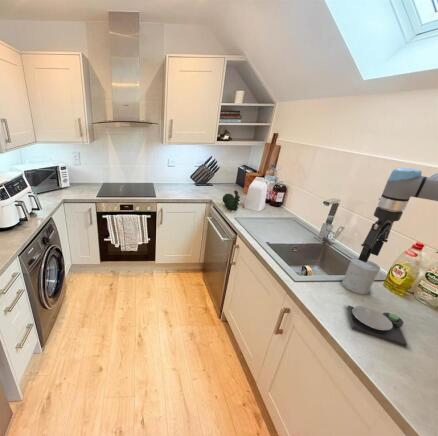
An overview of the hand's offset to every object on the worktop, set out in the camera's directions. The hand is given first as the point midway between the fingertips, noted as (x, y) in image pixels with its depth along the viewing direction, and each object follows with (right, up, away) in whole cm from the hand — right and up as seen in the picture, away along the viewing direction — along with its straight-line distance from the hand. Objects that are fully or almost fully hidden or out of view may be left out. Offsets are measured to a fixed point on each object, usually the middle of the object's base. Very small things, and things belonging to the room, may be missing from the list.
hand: (368, 257), depth 100 cm
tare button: (-4, -20, -14) cm, 25 cm away
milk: (-4, +25, +97) cm, 101 cm away
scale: (-11, -23, -14) cm, 29 cm away
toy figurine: (-25, +25, +96) cm, 103 cm away
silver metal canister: (0, -15, +6) cm, 16 cm away
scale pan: (-12, -20, -14) cm, 27 cm away
